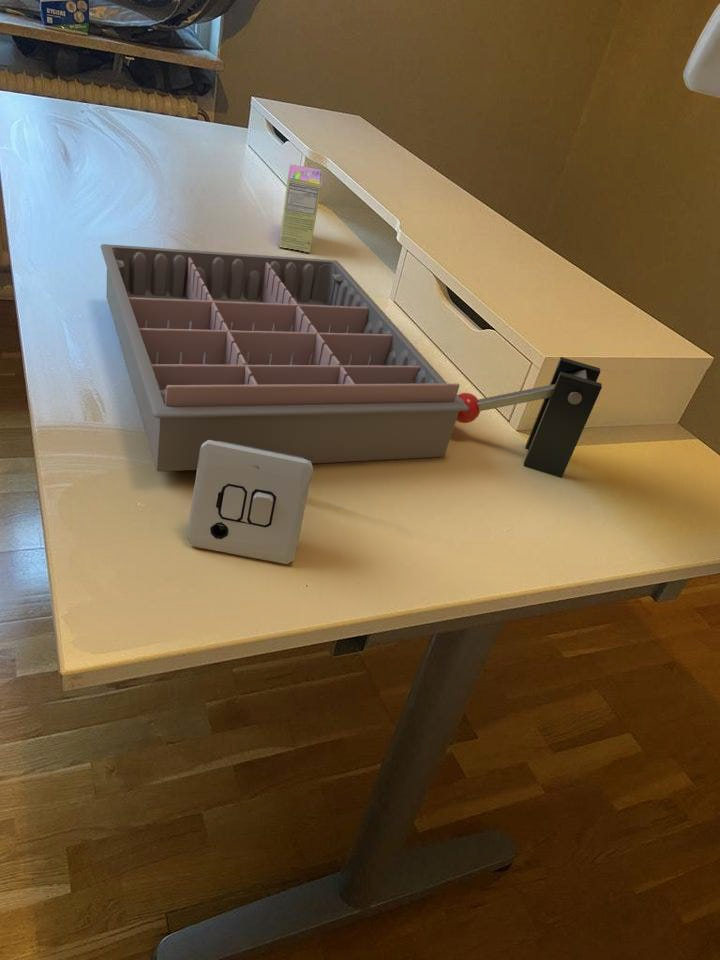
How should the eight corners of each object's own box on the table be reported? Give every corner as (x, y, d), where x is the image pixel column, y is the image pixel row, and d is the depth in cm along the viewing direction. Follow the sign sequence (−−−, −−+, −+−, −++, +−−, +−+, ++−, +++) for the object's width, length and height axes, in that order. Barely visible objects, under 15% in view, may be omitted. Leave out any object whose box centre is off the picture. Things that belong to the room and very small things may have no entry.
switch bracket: (485, 476, 81) (523, 374, 74) (492, 434, 90) (527, 338, 82) (591, 509, 80) (640, 408, 73) (589, 463, 89) (633, 369, 82)
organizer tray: (327, 312, 109) (340, 246, 104) (450, 471, 81) (476, 391, 75) (99, 303, 96) (100, 227, 91) (149, 489, 68) (154, 395, 62)
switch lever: (452, 430, 83) (444, 404, 82) (456, 417, 86) (448, 391, 84) (591, 404, 78) (585, 375, 76) (590, 391, 81) (584, 362, 79)
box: (280, 229, 136) (290, 163, 130) (311, 235, 137) (322, 169, 130) (277, 248, 128) (287, 177, 121) (309, 254, 129) (321, 184, 122)
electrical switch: (183, 547, 62) (195, 451, 58) (197, 515, 67) (209, 424, 62) (293, 568, 63) (312, 475, 59) (299, 535, 68) (318, 446, 63)
